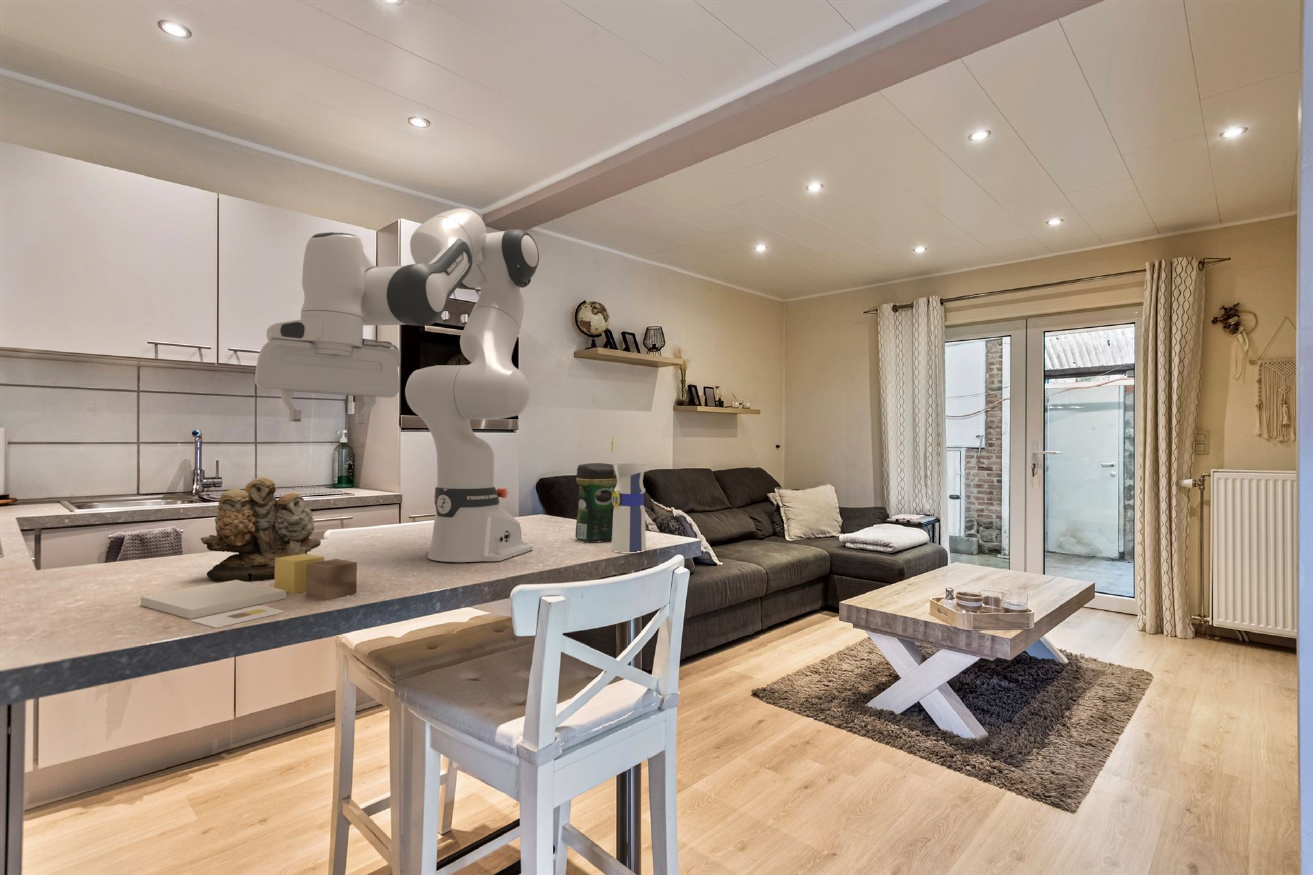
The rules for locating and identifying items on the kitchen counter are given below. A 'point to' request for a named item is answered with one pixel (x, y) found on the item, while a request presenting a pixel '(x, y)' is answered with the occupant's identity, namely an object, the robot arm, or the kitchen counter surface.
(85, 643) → the kitchen counter surface
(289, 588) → the mustard block
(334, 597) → the walnut block
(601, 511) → the coffee jar
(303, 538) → the three owls sculpture
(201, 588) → the plate
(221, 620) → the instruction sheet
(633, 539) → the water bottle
